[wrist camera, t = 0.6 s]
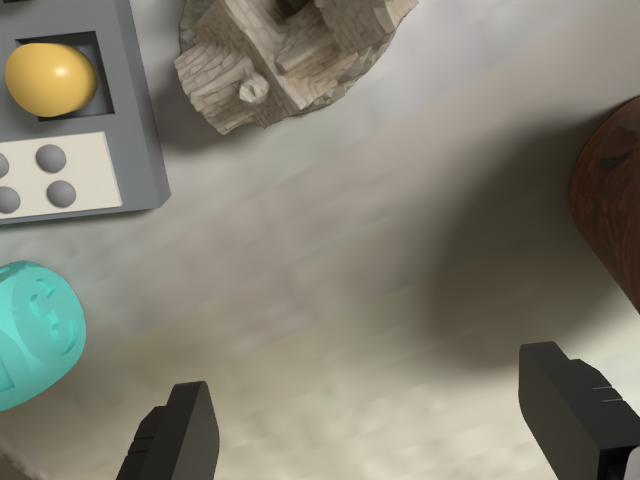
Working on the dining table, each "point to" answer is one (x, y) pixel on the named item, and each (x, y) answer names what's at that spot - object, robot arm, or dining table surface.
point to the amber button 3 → (50, 78)
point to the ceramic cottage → (279, 54)
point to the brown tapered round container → (612, 197)
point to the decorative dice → (36, 331)
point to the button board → (79, 119)
